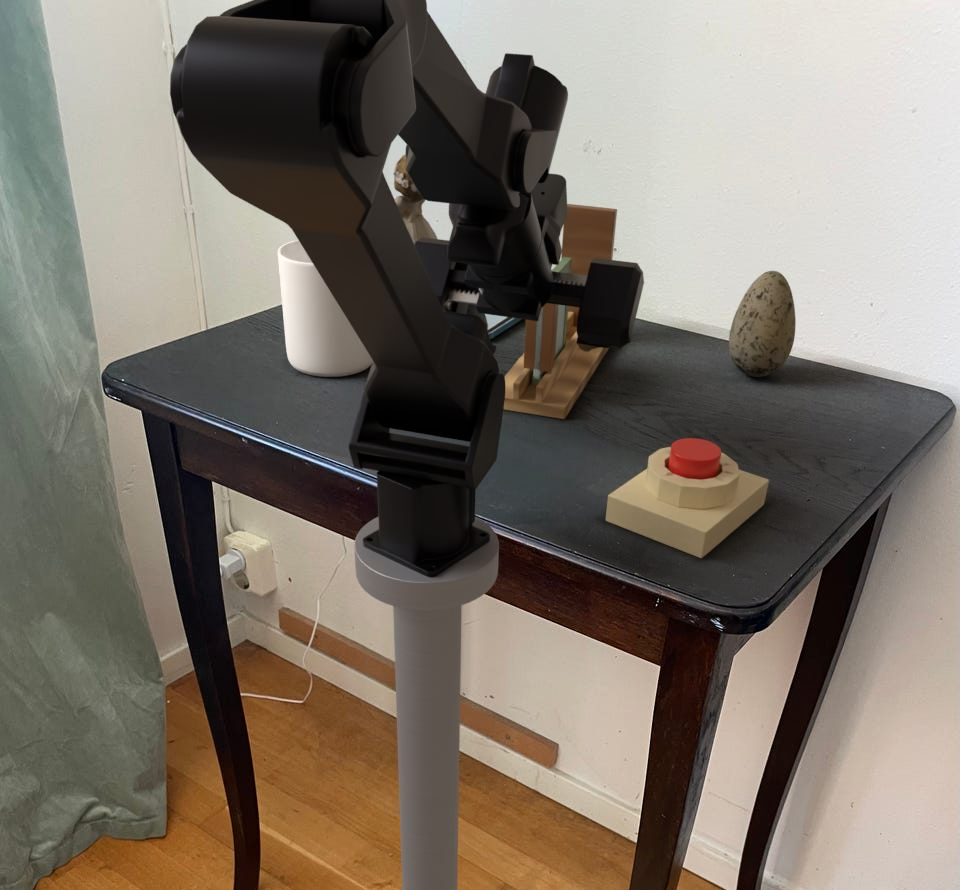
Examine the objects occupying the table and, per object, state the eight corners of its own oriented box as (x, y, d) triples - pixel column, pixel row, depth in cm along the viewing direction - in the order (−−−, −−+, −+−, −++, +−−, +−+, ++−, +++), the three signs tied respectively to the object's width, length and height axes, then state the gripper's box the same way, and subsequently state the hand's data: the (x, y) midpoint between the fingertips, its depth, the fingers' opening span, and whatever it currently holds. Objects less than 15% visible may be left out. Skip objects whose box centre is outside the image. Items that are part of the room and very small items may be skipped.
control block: (701, 559, 72) (710, 509, 69) (604, 521, 76) (610, 472, 73) (764, 505, 78) (774, 458, 76) (672, 472, 82) (679, 427, 80)
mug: (412, 345, 103) (410, 237, 97) (342, 386, 94) (336, 270, 88) (342, 329, 107) (336, 223, 100) (269, 367, 98) (257, 253, 92)
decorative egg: (730, 386, 96) (748, 281, 91) (717, 362, 101) (734, 261, 96) (793, 387, 97) (815, 282, 91) (777, 363, 101) (797, 262, 96)
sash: (549, 388, 92) (555, 288, 86) (522, 383, 92) (527, 284, 87) (573, 352, 99) (581, 258, 93) (548, 349, 99) (554, 255, 94)
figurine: (411, 280, 120) (409, 143, 111) (456, 293, 117) (457, 153, 108) (364, 297, 115) (358, 154, 106) (409, 311, 111) (407, 165, 103)
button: (702, 487, 73) (706, 465, 72) (658, 471, 74) (661, 449, 73) (726, 469, 75) (730, 447, 74) (683, 454, 77) (686, 433, 76)
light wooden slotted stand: (564, 419, 90) (575, 271, 82) (488, 407, 91) (493, 261, 84) (614, 340, 106) (627, 209, 98) (549, 331, 107) (557, 202, 100)
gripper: (654, 152, 72) (662, 267, 87) (409, 130, 77) (456, 242, 92) (620, 296, 71) (634, 387, 86) (371, 264, 75) (425, 356, 90)
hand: (535, 338), depth 88 cm, fingers open, 9 cm apart
